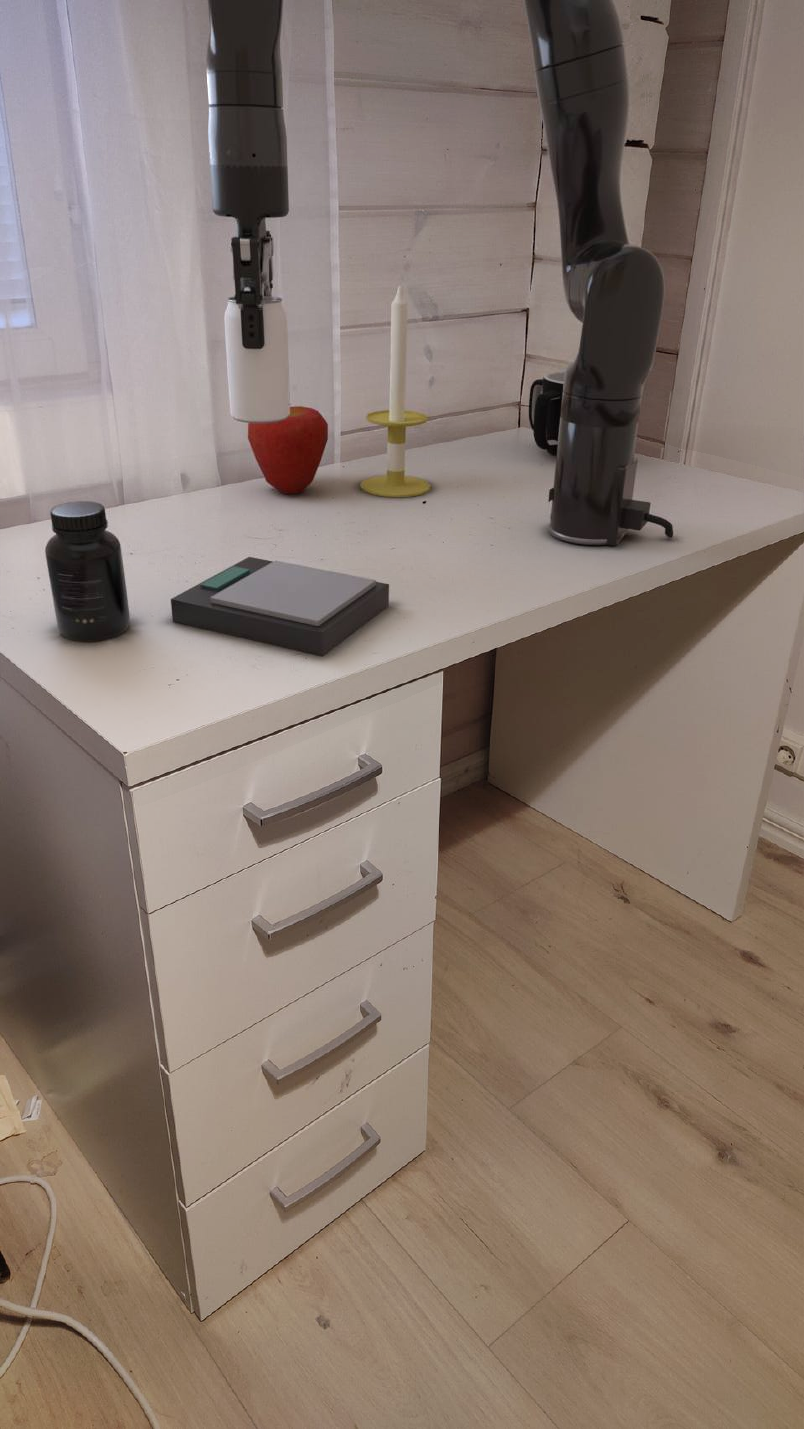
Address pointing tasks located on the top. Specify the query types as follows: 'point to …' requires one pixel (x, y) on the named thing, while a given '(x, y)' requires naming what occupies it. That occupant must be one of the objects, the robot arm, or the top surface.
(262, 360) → the can
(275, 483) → the apple
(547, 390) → the mug
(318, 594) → the scale
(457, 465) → the top surface
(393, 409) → the candle
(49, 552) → the supplement bottle
